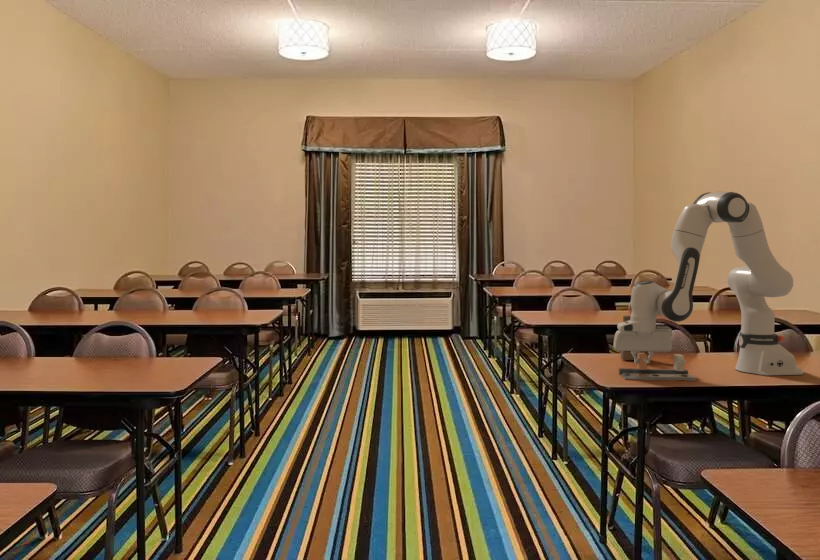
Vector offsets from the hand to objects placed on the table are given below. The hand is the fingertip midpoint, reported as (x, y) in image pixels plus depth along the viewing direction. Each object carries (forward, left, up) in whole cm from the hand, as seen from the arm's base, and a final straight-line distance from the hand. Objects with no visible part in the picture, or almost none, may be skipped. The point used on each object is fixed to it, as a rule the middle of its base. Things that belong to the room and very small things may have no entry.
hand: (642, 363), depth 256 cm
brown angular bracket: (-4, -28, -4) cm, 29 cm away
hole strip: (-4, +8, -4) cm, 9 cm away
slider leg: (0, +3, -2) cm, 3 cm away
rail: (-4, +3, -4) cm, 6 cm away
